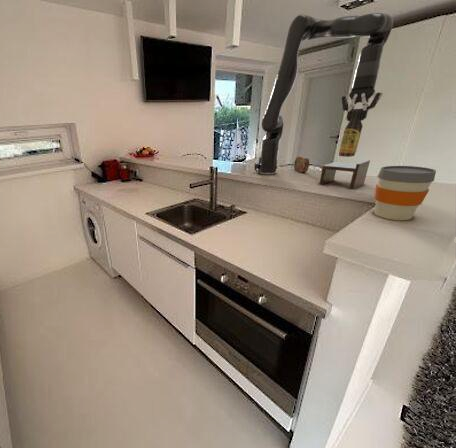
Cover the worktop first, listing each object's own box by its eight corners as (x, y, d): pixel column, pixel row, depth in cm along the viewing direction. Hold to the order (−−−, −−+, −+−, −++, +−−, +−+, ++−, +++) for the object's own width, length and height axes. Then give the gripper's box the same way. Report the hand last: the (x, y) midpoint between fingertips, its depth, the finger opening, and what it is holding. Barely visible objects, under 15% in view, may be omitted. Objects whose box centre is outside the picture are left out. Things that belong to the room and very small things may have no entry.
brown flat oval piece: (293, 169, 156) (295, 155, 153) (298, 168, 156) (300, 155, 152) (302, 173, 142) (305, 159, 139) (308, 173, 142) (311, 158, 139)
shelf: (319, 184, 120) (323, 161, 116) (330, 179, 126) (335, 158, 122) (353, 189, 109) (359, 164, 105) (363, 184, 115) (370, 160, 111)
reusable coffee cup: (357, 210, 86) (369, 167, 80) (392, 207, 86) (405, 164, 81) (392, 224, 74) (408, 174, 68) (431, 220, 75) (451, 171, 69)
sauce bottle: (335, 156, 114) (344, 109, 107) (343, 154, 117) (352, 109, 109) (350, 157, 109) (361, 108, 101) (358, 155, 111) (369, 107, 104)
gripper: (391, 72, 96) (379, 119, 103) (349, 78, 107) (340, 120, 114) (385, 71, 93) (372, 120, 99) (341, 78, 104) (333, 121, 110)
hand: (355, 120), depth 107 cm, fingers closed on sauce bottle, 4 cm apart
